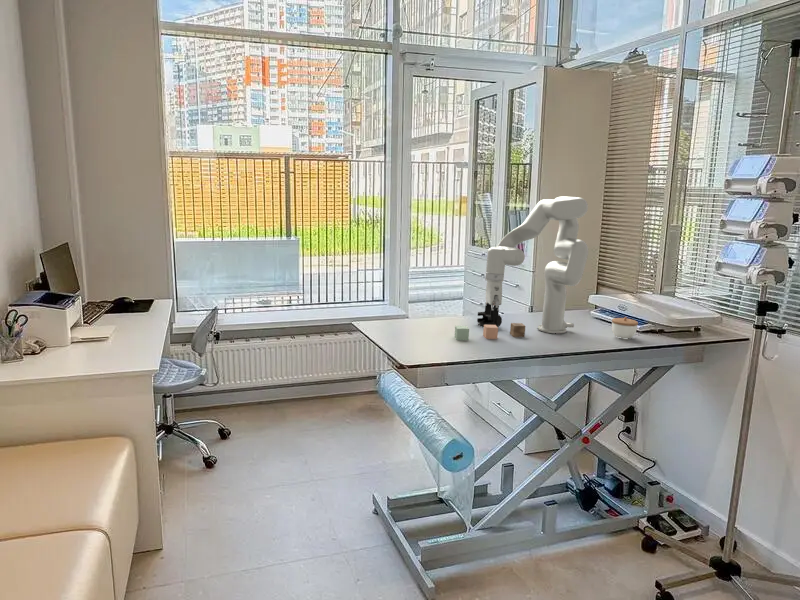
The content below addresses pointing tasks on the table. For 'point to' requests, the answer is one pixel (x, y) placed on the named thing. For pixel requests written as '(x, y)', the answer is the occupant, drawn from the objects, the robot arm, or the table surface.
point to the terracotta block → (490, 331)
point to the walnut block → (517, 330)
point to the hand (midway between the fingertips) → (491, 317)
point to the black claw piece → (488, 320)
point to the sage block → (461, 333)
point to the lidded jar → (624, 327)
